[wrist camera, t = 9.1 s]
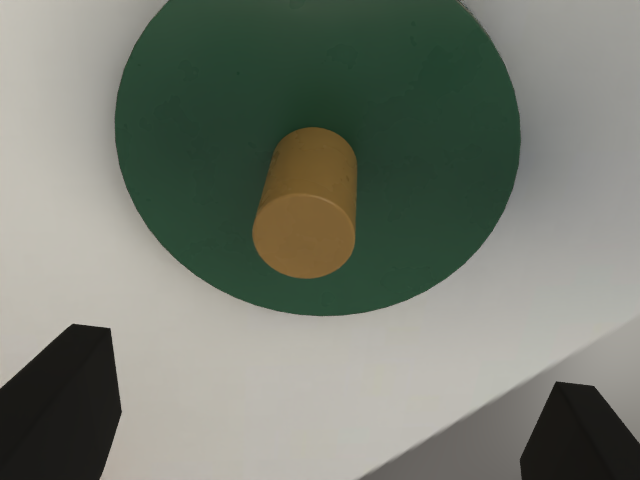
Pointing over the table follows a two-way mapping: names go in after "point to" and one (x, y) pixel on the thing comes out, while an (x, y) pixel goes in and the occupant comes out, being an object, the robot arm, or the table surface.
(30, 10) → the table surface
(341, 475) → the table surface
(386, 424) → the table surface
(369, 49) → the tin lid
